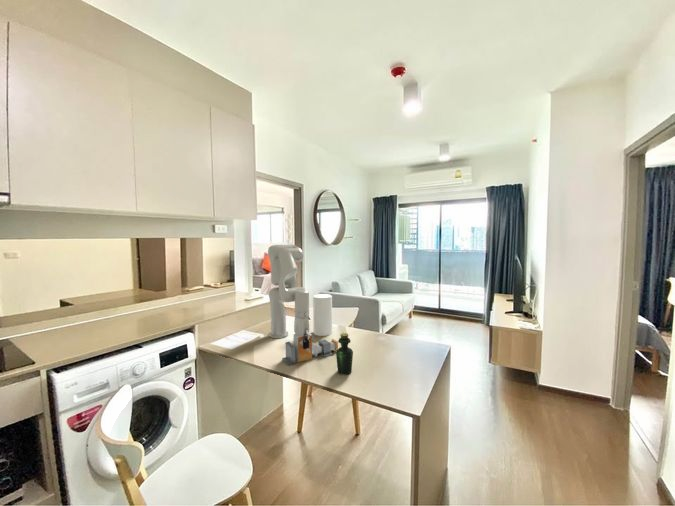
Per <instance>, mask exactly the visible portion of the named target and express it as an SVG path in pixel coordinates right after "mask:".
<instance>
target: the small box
mask: <svg viewBox="0 0 675 506" xmlns="http://www.w3.org/2000/svg"><path fill="white" fill-rule="evenodd" d="M309 334H310V339H309V348H307V349H303V341H304V340H303V337H299V336H298V335H297V334H295V333H294V334H293V345H294V346H295V361H296V362H297V363H299V362H304V361H309V360H312V359H313V354H312V342H313V335H312V334H311V333H310V332H309ZM305 338H306V337H305Z"/></svg>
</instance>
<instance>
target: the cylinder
mask: <svg viewBox="0 0 675 506" xmlns="http://www.w3.org/2000/svg"><path fill="white" fill-rule="evenodd" d="M312 299H313V300H312V301H313V302H312V305H313V306H312V307H313V308H312V309H313V312H312V315H313V318H312V319H313V334H314V335H315V336H319V337H326V336H330V335H332V334H333V296H332V295H331V294H330V293H329V294H328V293H319V294H314V295H313V296H312Z"/></svg>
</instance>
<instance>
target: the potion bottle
mask: <svg viewBox="0 0 675 506" xmlns="http://www.w3.org/2000/svg"><path fill="white" fill-rule="evenodd" d="M337 342H338V344H340V345H341V347H338V349H337V351H335V354H336V355H335V357H336V365H337V372H338V373H339V374H340V375H345V376H346V375H350V373H352V371H353V370H352V368H353V359H354V358H353V357H354V351H353V349H352V348H351V347H348V346H349V344H350V343H351V338H349V333H347V332H342V333H340V338H338V341H337Z"/></svg>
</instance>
